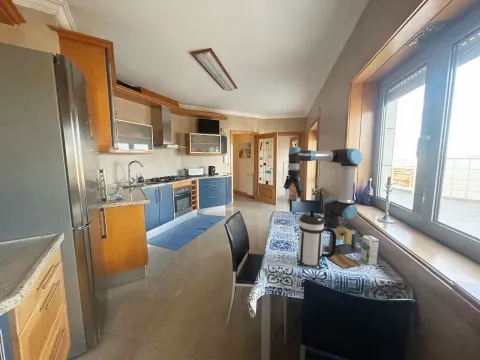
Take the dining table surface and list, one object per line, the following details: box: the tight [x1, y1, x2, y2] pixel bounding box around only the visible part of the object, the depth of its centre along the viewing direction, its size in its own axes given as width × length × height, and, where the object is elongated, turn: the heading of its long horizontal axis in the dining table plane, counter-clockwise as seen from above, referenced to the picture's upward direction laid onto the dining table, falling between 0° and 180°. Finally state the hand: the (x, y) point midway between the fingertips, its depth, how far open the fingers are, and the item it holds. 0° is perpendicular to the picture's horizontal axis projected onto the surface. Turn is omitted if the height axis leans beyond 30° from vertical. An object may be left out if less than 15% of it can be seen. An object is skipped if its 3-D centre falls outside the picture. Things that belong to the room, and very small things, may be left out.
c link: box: [335, 225, 353, 244], centre depth 127 cm, size 4×8×8 cm, turn 19°
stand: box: [323, 229, 361, 256], centre depth 128 cm, size 20×10×12 cm, turn 109°
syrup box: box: [359, 235, 380, 266], centre depth 113 cm, size 6×6×14 cm
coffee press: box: [296, 209, 337, 270], centre depth 110 cm, size 17×16×30 cm
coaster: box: [326, 254, 361, 270], centre depth 114 cm, size 12×12×1 cm
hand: (292, 199), depth 143 cm, fingers open, 13 cm apart
